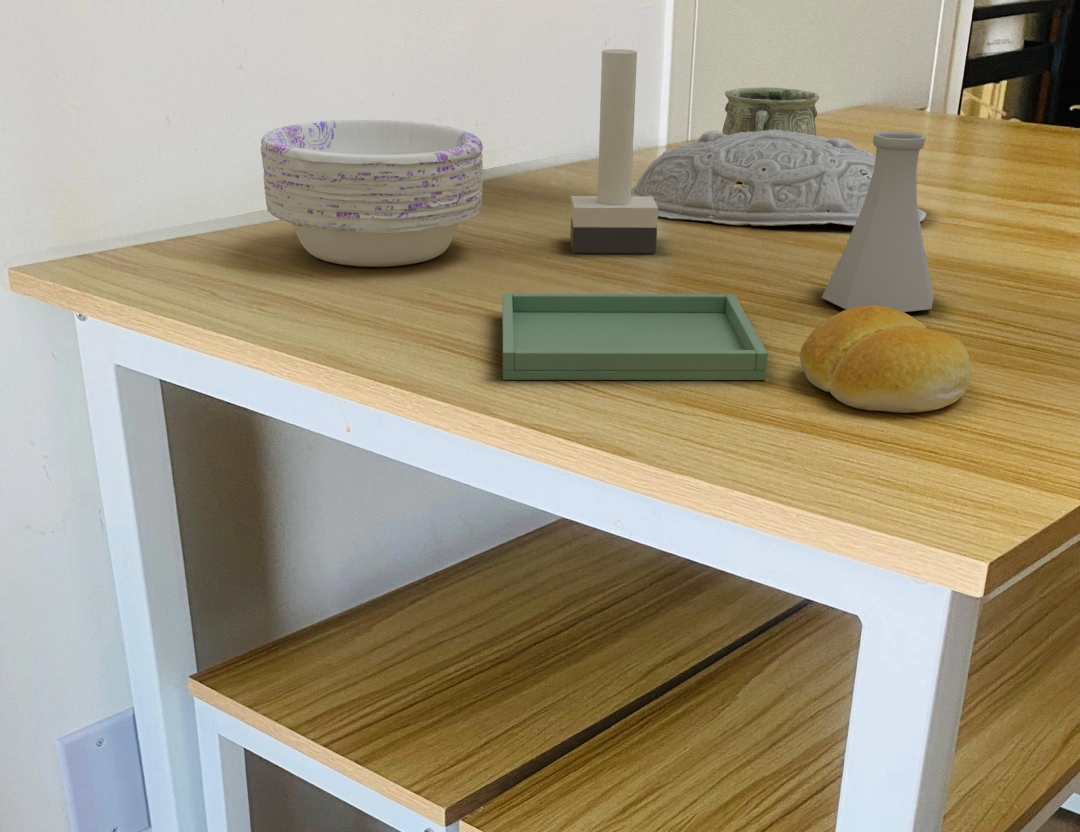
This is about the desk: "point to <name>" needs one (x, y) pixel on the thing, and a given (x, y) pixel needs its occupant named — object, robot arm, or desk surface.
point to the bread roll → (885, 361)
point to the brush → (615, 173)
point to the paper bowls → (373, 187)
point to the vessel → (770, 110)
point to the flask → (886, 235)
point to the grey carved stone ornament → (761, 179)
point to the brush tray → (629, 337)
